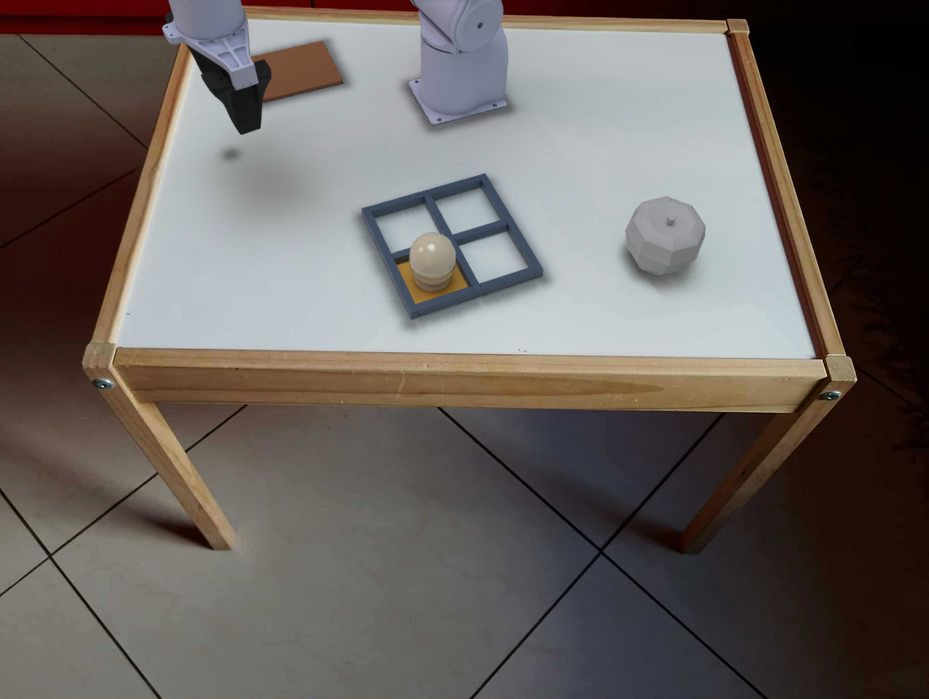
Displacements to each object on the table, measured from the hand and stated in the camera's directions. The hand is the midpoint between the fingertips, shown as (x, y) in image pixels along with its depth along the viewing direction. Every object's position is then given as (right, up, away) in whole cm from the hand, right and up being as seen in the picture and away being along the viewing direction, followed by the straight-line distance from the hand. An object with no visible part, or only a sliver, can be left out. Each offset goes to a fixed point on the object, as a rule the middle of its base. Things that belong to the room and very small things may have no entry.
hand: (234, 105), depth 72 cm
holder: (+21, -13, +5) cm, 25 cm away
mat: (+1, +10, +18) cm, 20 cm away
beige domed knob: (+19, -16, +2) cm, 25 cm away
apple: (+42, -14, +5) cm, 44 cm away
